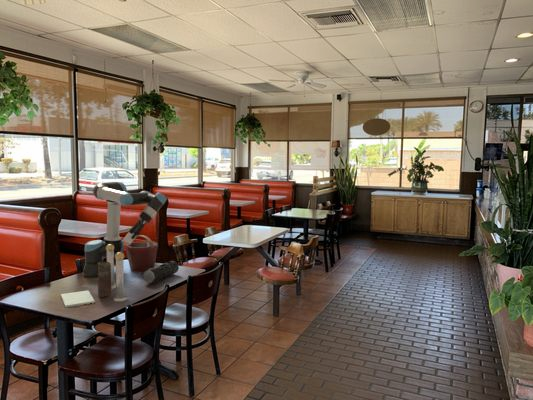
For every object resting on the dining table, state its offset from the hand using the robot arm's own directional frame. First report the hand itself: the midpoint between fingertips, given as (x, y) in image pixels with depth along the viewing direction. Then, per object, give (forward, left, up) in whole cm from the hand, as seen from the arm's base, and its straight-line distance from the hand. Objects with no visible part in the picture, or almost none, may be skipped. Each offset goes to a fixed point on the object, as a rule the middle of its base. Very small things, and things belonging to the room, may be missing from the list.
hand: (125, 242), depth 255 cm
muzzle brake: (+16, +26, -31) cm, 43 cm away
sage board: (-23, -15, -30) cm, 41 cm away
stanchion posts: (-5, -5, -30) cm, 31 cm away
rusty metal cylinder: (-10, -8, -30) cm, 33 cm away
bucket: (-3, +52, -31) cm, 60 cm away
